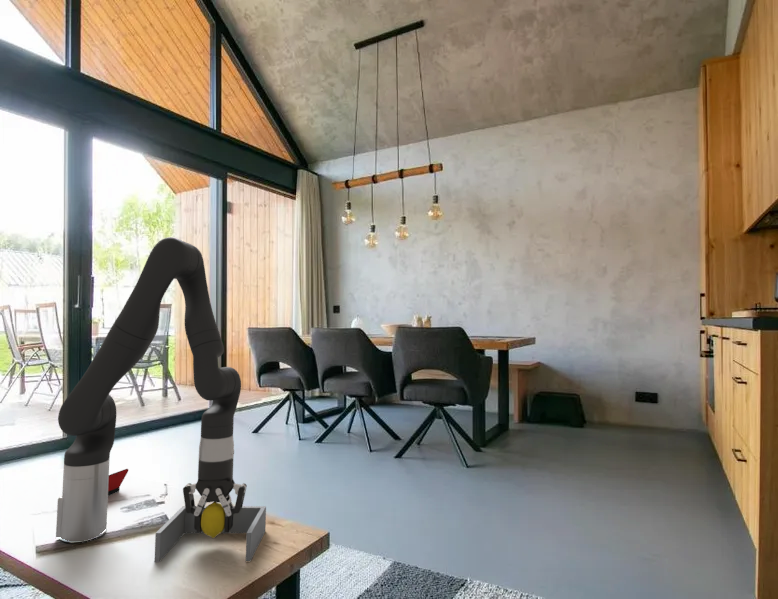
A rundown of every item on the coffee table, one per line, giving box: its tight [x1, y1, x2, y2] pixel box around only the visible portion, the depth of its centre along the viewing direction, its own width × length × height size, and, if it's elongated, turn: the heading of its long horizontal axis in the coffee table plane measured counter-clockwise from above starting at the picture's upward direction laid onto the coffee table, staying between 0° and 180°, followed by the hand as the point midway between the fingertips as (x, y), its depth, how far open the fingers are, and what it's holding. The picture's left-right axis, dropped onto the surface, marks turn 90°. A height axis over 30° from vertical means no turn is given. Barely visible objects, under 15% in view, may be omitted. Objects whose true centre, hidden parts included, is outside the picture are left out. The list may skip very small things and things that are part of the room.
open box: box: [153, 505, 267, 563], centre depth 110 cm, size 20×15×6 cm
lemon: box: [201, 502, 226, 539], centre depth 110 cm, size 6×6×8 cm
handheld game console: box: [108, 468, 129, 497], centre depth 138 cm, size 12×11×7 cm
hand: (213, 531), depth 110 cm, fingers closed on lemon, 5 cm apart
